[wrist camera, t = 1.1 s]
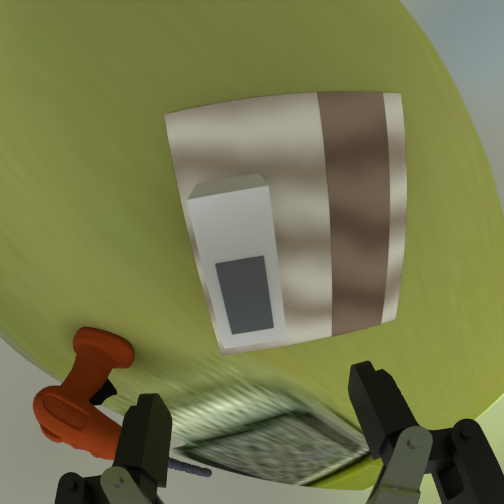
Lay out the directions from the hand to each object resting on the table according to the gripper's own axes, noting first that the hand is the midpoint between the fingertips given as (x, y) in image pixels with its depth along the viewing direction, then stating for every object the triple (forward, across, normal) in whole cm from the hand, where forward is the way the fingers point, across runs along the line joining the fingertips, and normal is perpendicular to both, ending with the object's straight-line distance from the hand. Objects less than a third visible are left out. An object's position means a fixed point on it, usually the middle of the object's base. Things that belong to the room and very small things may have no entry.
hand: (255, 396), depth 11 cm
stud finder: (+15, 0, 0) cm, 15 cm away
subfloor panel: (+16, -6, 0) cm, 18 cm away
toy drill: (+17, +14, +12) cm, 25 cm away
